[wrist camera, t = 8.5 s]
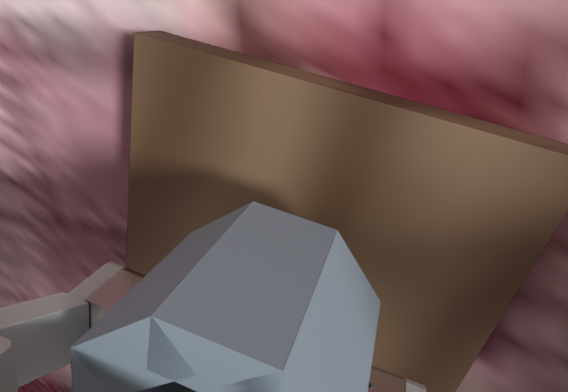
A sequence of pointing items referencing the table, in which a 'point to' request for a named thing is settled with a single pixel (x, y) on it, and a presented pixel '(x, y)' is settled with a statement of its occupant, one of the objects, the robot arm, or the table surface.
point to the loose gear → (239, 315)
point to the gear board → (347, 189)
